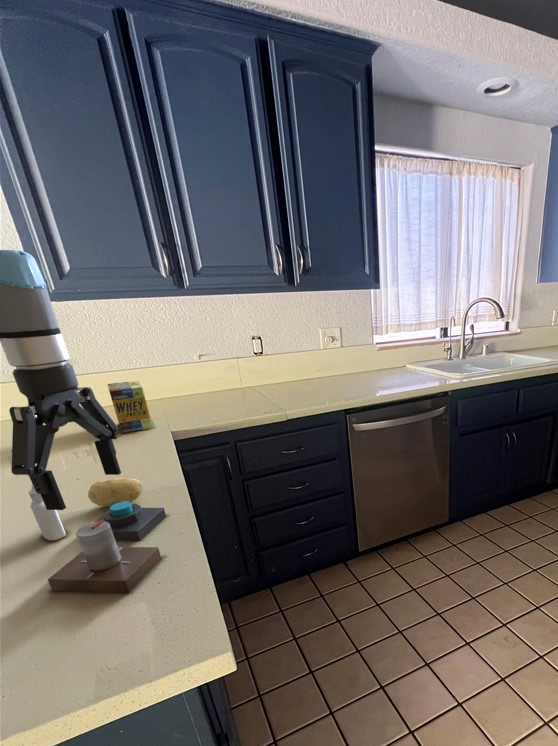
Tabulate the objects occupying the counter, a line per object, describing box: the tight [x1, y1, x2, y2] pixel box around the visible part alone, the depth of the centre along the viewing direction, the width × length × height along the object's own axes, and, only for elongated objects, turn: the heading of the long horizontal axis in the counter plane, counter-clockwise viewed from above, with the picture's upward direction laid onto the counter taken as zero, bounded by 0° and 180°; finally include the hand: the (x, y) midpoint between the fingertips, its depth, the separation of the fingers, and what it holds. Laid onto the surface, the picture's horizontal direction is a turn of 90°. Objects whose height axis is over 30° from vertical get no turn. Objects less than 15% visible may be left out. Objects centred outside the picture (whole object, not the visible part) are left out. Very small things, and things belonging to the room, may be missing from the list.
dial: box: [75, 520, 121, 571], centre depth 75 cm, size 5×5×7 cm
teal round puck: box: [109, 501, 133, 517], centre depth 90 cm, size 4×4×2 cm
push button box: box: [92, 503, 167, 541], centre depth 92 cm, size 12×10×4 cm
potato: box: [87, 477, 143, 508], centre depth 102 cm, size 7×11×6 cm, turn 111°
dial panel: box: [47, 546, 162, 594], centre depth 77 cm, size 14×10×3 cm
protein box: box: [107, 380, 154, 434], centre depth 159 cm, size 10×15×16 cm
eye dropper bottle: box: [28, 483, 66, 541], centre depth 88 cm, size 4×6×12 cm
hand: (87, 490), depth 74 cm, fingers open, 13 cm apart
